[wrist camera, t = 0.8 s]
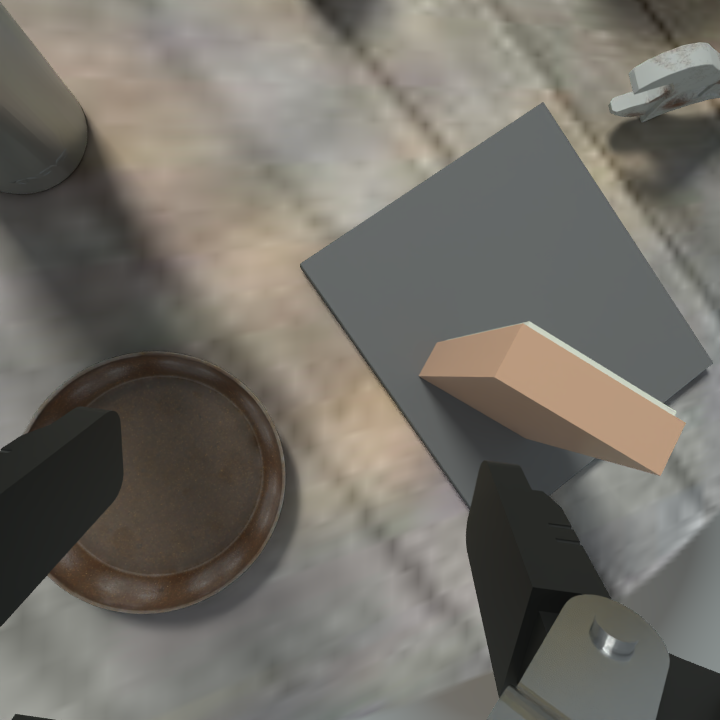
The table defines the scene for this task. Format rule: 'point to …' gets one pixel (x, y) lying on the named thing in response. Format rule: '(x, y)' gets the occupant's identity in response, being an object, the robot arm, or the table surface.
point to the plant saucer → (173, 483)
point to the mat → (502, 291)
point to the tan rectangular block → (555, 396)
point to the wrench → (671, 82)
